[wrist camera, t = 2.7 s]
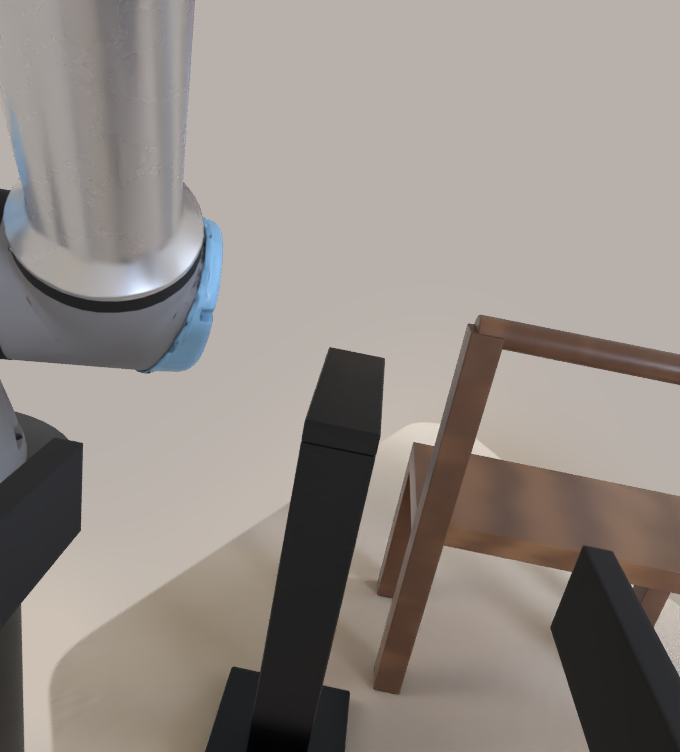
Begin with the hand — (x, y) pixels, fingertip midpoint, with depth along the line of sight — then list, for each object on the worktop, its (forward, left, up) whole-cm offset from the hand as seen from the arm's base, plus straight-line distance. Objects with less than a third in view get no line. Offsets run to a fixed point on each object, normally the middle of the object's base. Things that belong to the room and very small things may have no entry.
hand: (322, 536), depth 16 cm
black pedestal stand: (-3, +11, -21) cm, 24 cm away
